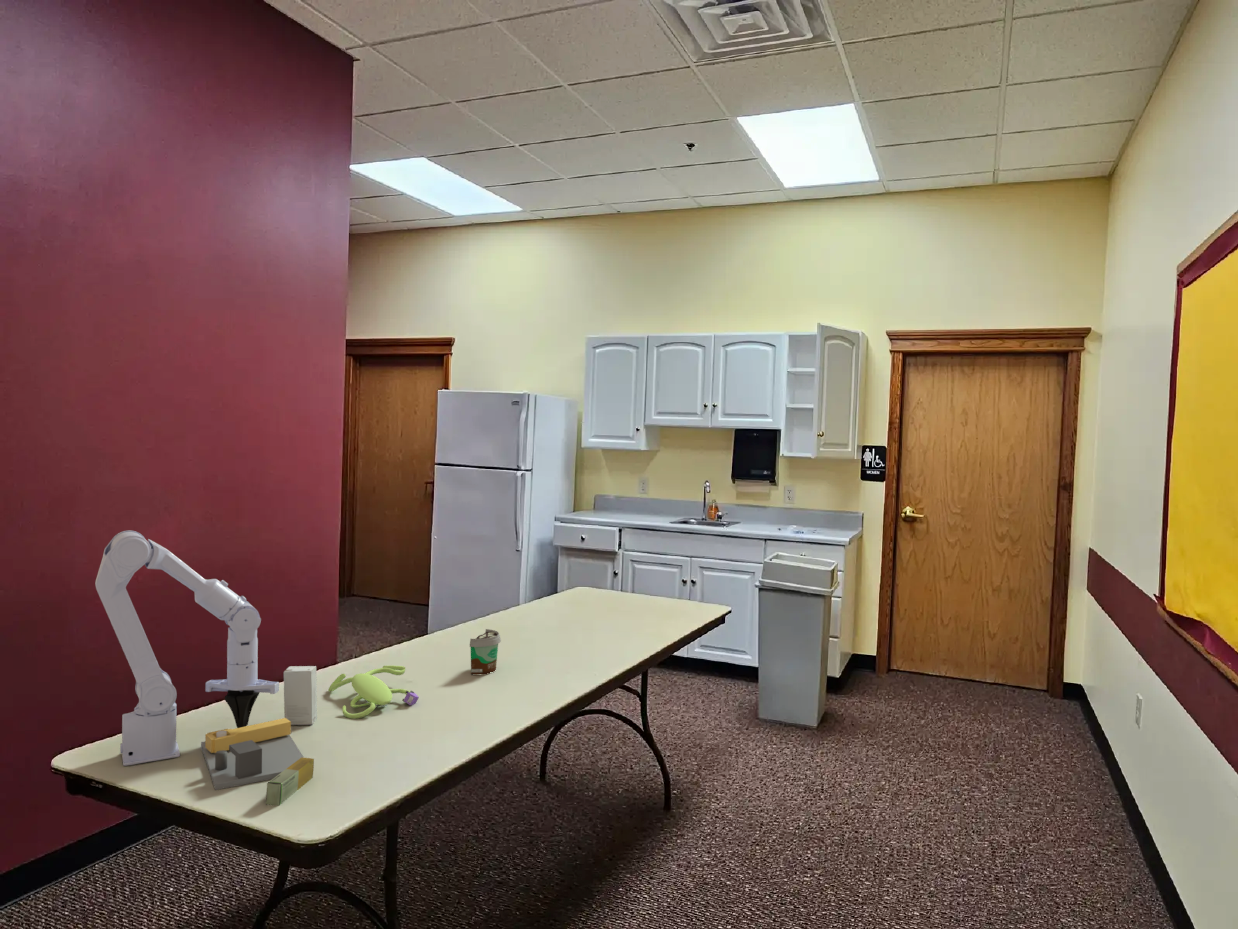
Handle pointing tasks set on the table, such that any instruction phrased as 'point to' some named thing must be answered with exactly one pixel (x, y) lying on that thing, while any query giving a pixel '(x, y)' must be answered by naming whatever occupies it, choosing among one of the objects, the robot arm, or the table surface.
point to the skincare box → (300, 695)
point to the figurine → (372, 690)
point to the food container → (484, 652)
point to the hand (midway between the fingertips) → (242, 726)
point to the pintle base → (250, 761)
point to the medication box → (289, 781)
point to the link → (248, 734)
